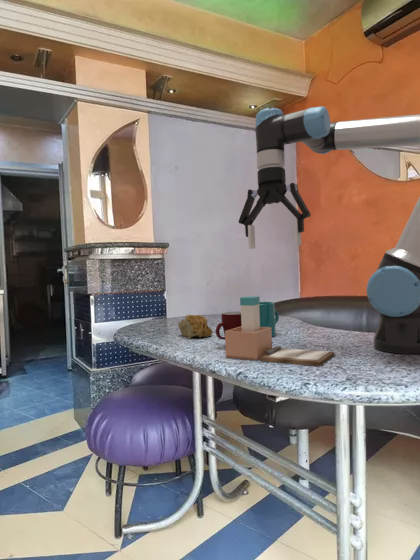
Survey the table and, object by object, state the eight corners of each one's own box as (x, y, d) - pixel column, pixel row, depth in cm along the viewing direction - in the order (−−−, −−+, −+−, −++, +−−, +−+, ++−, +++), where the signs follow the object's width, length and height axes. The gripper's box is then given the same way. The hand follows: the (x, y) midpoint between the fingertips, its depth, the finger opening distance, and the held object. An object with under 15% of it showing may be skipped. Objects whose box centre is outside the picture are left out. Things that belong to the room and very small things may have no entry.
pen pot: (272, 353, 111) (271, 327, 110) (257, 360, 103) (256, 332, 103) (242, 350, 116) (241, 326, 115) (225, 357, 108) (224, 331, 108)
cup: (287, 334, 139) (286, 301, 138) (260, 339, 132) (258, 304, 132) (270, 331, 146) (268, 300, 146) (243, 336, 140) (241, 303, 140)
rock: (185, 350, 145) (174, 325, 147) (205, 342, 150) (193, 317, 152) (198, 339, 136) (186, 313, 138) (219, 331, 140) (206, 305, 143)
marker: (261, 352, 109) (259, 296, 109) (255, 355, 106) (253, 297, 105) (248, 351, 111) (246, 296, 111) (242, 354, 108) (240, 297, 107)
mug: (226, 351, 116) (225, 316, 116) (210, 347, 123) (209, 314, 122) (255, 345, 122) (253, 312, 121) (238, 342, 128) (237, 310, 128)
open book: (334, 355, 104) (333, 347, 104) (319, 366, 94) (319, 357, 94) (279, 351, 112) (278, 344, 112) (260, 361, 102) (259, 353, 102)
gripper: (320, 163, 108) (323, 244, 109) (237, 178, 122) (240, 249, 122) (311, 158, 102) (314, 243, 103) (224, 174, 115) (228, 249, 116)
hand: (274, 247), depth 112 cm, fingers open, 13 cm apart
